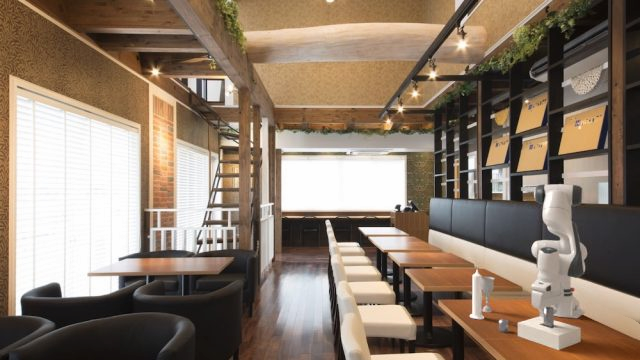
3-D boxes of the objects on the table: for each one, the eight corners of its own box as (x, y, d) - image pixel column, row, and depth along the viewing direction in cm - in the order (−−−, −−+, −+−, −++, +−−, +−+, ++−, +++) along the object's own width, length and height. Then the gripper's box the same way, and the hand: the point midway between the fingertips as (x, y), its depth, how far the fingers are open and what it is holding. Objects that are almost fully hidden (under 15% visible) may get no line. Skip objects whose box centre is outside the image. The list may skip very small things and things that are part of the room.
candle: (485, 320, 202) (485, 270, 202) (470, 319, 203) (471, 270, 203) (482, 315, 209) (483, 268, 209) (468, 314, 210) (468, 267, 210)
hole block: (539, 328, 190) (539, 316, 190) (580, 341, 175) (580, 327, 175) (517, 335, 181) (517, 322, 181) (558, 350, 165) (558, 335, 165)
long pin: (546, 336, 180) (546, 305, 181) (555, 339, 177) (555, 307, 177) (541, 338, 178) (541, 306, 179) (550, 341, 175) (550, 309, 175)
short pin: (502, 329, 189) (502, 318, 189) (510, 331, 186) (510, 321, 186) (497, 330, 187) (497, 319, 187) (504, 333, 184) (504, 322, 184)
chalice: (493, 309, 219) (494, 277, 219) (495, 313, 212) (495, 279, 212) (479, 308, 221) (479, 276, 221) (480, 312, 215) (480, 278, 215)
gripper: (554, 279, 186) (553, 309, 186) (528, 285, 175) (528, 317, 175) (568, 282, 181) (568, 313, 181) (543, 289, 170) (542, 321, 170)
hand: (548, 315), depth 178 cm, fingers open, 8 cm apart
